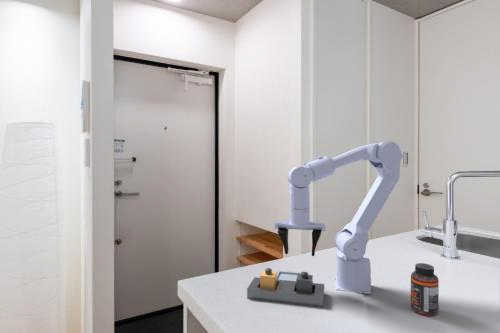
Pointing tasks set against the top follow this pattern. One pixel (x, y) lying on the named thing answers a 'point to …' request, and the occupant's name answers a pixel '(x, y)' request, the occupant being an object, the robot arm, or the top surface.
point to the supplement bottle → (424, 290)
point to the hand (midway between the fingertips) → (299, 254)
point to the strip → (286, 293)
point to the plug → (268, 279)
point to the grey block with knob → (304, 283)
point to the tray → (287, 275)
